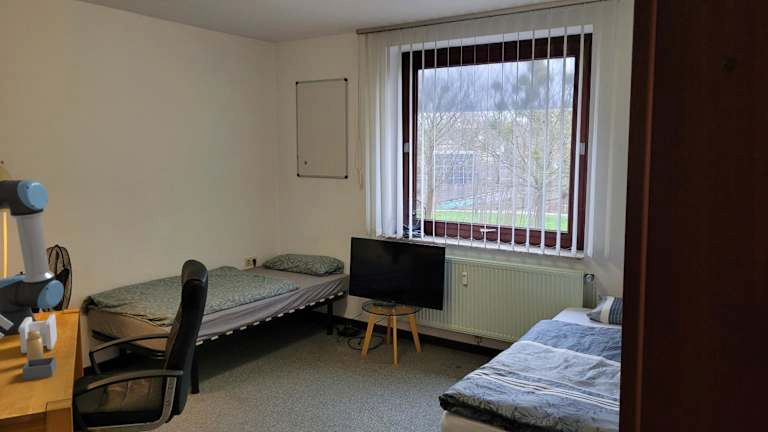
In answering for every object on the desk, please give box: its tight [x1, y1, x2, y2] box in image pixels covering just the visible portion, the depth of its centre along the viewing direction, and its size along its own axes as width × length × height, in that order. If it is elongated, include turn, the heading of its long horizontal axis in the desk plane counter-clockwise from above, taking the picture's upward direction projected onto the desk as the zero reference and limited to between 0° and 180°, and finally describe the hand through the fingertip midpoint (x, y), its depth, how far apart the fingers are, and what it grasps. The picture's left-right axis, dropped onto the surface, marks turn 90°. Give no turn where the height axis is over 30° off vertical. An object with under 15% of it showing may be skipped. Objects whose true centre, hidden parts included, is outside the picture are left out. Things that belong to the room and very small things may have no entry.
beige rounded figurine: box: [26, 330, 45, 362], centre depth 207 cm, size 5×5×12 cm
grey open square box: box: [22, 356, 57, 381], centre depth 197 cm, size 8×8×4 cm
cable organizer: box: [18, 313, 58, 354], centre depth 223 cm, size 15×11×12 cm
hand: (5, 332), depth 203 cm, fingers open, 13 cm apart
